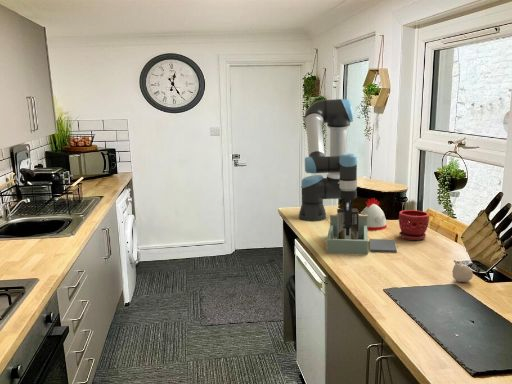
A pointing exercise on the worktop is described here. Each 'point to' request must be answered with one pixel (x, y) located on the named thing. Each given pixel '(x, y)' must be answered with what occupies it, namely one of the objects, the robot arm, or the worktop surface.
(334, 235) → the green drawer
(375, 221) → the kitchen timer
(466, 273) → the garlic bulb
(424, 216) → the plant pot
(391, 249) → the rubber mat
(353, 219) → the coffee box
